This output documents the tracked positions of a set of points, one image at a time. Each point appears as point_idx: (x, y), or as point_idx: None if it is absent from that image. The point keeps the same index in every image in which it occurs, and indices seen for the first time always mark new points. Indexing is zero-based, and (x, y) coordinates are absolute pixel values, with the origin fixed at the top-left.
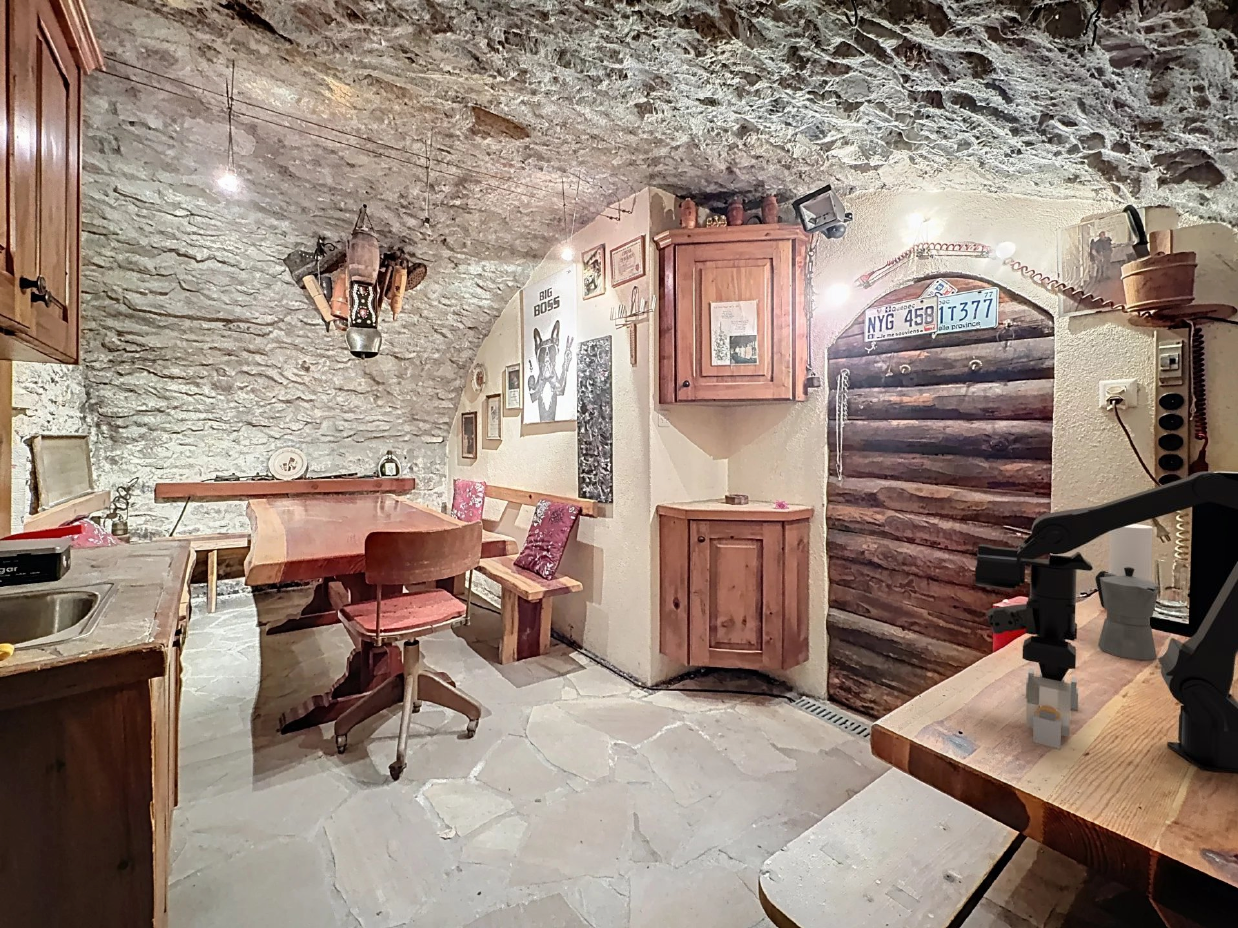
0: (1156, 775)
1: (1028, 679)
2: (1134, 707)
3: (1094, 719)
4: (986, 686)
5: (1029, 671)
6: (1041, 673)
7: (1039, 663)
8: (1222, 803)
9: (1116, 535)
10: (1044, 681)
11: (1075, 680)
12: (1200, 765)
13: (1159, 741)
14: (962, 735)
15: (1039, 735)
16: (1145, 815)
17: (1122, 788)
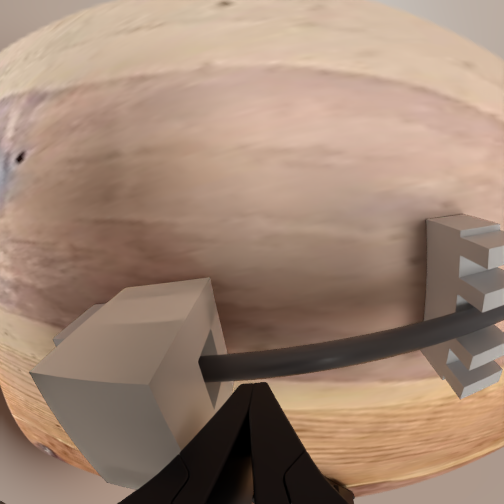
0: None
1: (73, 379)
2: (481, 402)
3: (380, 387)
4: (431, 91)
5: (502, 248)
6: (182, 449)
7: (127, 500)
8: None
9: None
10: (127, 437)
11: (476, 389)
12: (252, 498)
13: (333, 464)
14: (13, 169)
15: None
16: (49, 425)
17: None
